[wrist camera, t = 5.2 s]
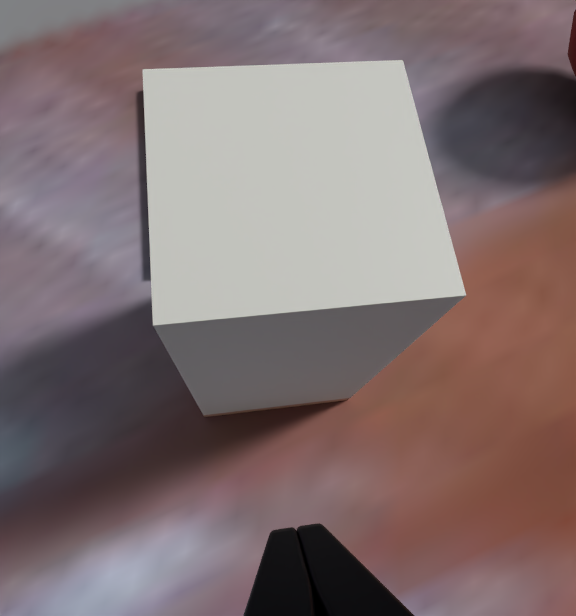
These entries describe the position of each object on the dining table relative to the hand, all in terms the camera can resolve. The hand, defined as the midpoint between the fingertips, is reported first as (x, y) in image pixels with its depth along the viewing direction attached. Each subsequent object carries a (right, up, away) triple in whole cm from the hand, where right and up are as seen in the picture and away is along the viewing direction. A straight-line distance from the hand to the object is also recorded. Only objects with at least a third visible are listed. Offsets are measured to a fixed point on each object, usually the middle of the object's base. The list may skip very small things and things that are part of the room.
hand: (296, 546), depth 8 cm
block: (-1, +3, +8) cm, 9 cm away
